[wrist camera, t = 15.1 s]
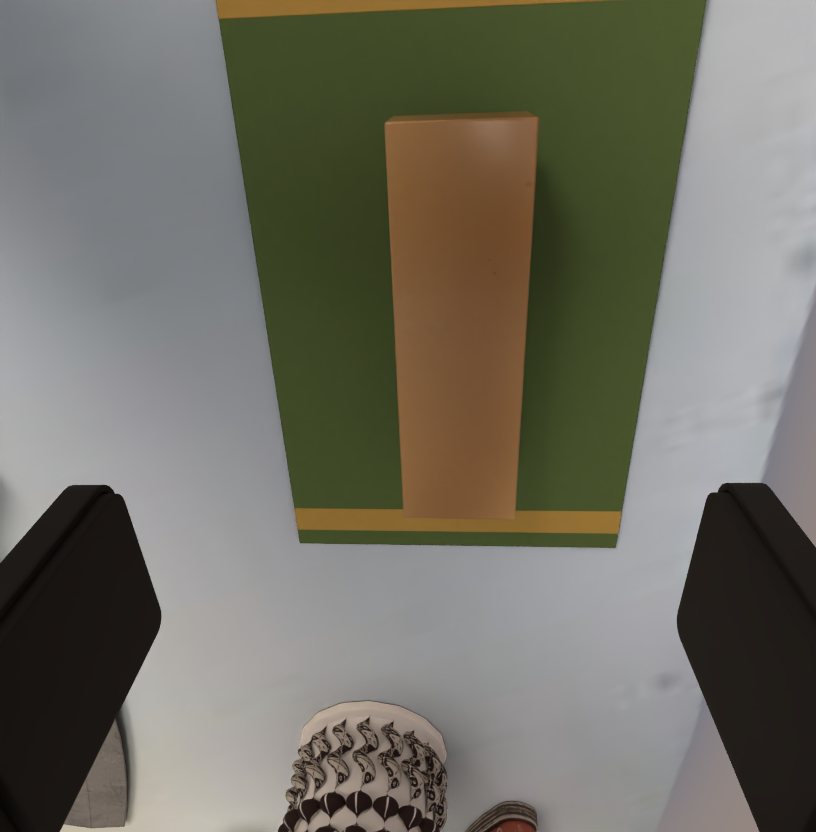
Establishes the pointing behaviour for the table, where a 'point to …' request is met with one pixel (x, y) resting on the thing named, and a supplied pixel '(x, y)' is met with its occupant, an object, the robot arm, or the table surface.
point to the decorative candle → (368, 772)
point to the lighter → (507, 819)
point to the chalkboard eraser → (460, 305)
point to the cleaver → (103, 788)
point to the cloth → (370, 236)
